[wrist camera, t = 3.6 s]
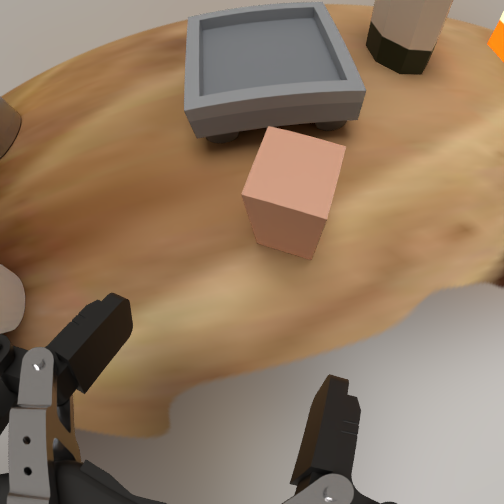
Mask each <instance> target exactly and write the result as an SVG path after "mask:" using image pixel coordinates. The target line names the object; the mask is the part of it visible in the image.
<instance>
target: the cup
mask: <svg viewBox="0 0 504 504" xmlns="http://www.w3.org/2000/svg"><path fill="white" fill-rule="evenodd" d="M24 310H25V292H24V287H23V284H22V282H21V280H20V278H19V277H18V276H17V275H16V274H14V273H13V272H11V271H10V270H8V269H7V268H6V267H4V266H3V265H1V264H0V334H1V333H5V332H9V331H12V330H14V329H15V328H16V327H17V326H18V325H19V324H20V322H21V320H22V317H23V314H24Z"/></svg>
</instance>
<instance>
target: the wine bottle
mask: <svg viewBox="0 0 504 504" xmlns="http://www.w3.org/2000/svg"><path fill="white" fill-rule="evenodd" d="M452 2H453V0H375V4H374V8H373V13H372V18H371V23H370V28H369V33H368V37H367V42H366V46H367V48H368V50H369V51H370V53H371V54H372V56H373V58H374V59H375V61H376V62H378V63H380V64H382V65H384V66H386V67H388V68H390V69H392V70H394V71H395V72H397V73H399V74H422V73H423V71H424V69H425V67H426V65H427V63H428V61H429V59H430V57H431V54H432V52H433V50H434V47H435V45H436V43H437V40H438V38H439V35H440V33H441V30H442V28H443V25H444V23H445V20H446V18H447V15H448V13H449V10H450V7H451V5H452Z"/></svg>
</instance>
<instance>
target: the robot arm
mask: <svg viewBox="0 0 504 504" xmlns="http://www.w3.org/2000/svg"><path fill="white" fill-rule="evenodd" d="M20 123H21V117H20V115H19V113H18V112H16V111H15V110H14V109H13V108H12V107H11V106H10V105H9V104H8V103H7V102H6V101H5V100H4V99H2V98H1V97H0V158H1V157H2V156H3V155H4V153H5V152H6V151H7V150H8V148H9V147H10V146H11V144H12V142H13V141H14V139H15V137H16V135H17V133H18V130H19V127H20ZM132 329H133V322H132V315H131V308H130V302H129V300H128V299H126V298H124V297H121V296H119V295H117V294H115V293H110V294H108V295H107V296H106V297H105V298H104V299H103V300H102V301H100V300H96V301H94V302H92V303H90V304H88V305H86V306H85V307H84V308H83V309H82V310H81V311H80V312H79V313H78V316H76V317H75V318H74V319H73V320H72V322H70V323H69V324H68V325H67V326H66V327H65V328H64V329H63V330H62V331H61V332H60V333H59V334H58V335H57V336H56V337H55V338H54V339H53V340H52V341H51V342H50V344H48V345H47V346H46V347H45V348H43V347H36V348H33V349H31V350H29V351H28V350H25V349H22V348H18V347H15V346H12V344H11V342H10V341H9V339H8V338H7V337H6V336H5V335H1V334H0V379H1V380H0V435H1V433H2V431H3V430H4V429H5V427H6V426H7V424H8V423H9V441H8V442H9V443H8V445H9V446H8V447H9V449H8V450H9V451H8V454H9V455H8V457H9V473H5V474H0V504H166V503H163V502H159V501H154V500H150V499H146V498H142V497H138V496H135V495H132V494H131V493H130V492H129V491H128V490H126V489H125V488H124V487H123V486H122V485H121V484H119V482H118V481H116V480H115V479H114V478H113V477H112V476H111V475H110V474H109V473H107V472H105V471H104V470H102V469H100V468H99V467H97V466H95V465H94V464H92V463H91V462H89V461H88V460H85V462H84V463H82V462H81V456H80V450H79V446H78V443H77V441H76V437H75V428H74V408H73V393H74V391H75V390H76V389H77V390H79V391H81V392H82V393H84V394H85V393H86V392H87V391H88V389H89V388H90V387H91V385H92V384H93V383H94V381H95V380H96V379H97V378H98V376H99V375H100V374H101V372H102V371H103V370H104V369H105V367H106V366H107V365H108V364H109V362H110V361H111V360H112V358H113V357H114V356H115V355H116V353H117V352H118V351H119V350H120V348H121V347H122V346H123V345H124V343H125V342H126V341H127V340H128V338H129V337H130V335H131V332H132ZM348 386H349V380H348V379H344V378H340V377H337V376H333V375H328V376H327V378H326V380H325V381H324V383H323V384H322V386H321V387H320V389H319V391H318V392H317V394H316V395H315V398H314V400H313V402H312V405H311V408H310V412H309V417H308V420H307V424H306V428H305V432H304V436H303V439H302V443H301V447H300V450H299V454H298V458H297V461H296V464H295V468H294V471H293V474H292V478H291V481H290V484H292V485H296V486H297V488H296V492H295V495H294V496H293V497H291V498H290V499H288V500H287V501H285V502H284V503H282V504H380V503H378V502H376V501H374V500H372V499H370V498H368V497H366V496H364V495H362V494H361V493H359V492H358V491H357V490H356V488H355V487H354V485H353V482H352V478H351V473H352V467H353V461H354V455H355V449H356V442H357V434H358V428H359V426H358V425H359V421H360V413H361V409H360V406H359V402H358V399H357V397H354V396H350V395H347V393H348ZM381 504H397V503H394V502H384V503H381Z"/></svg>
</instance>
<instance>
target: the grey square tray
mask: <svg viewBox="0 0 504 504" xmlns="http://www.w3.org/2000/svg"><path fill="white" fill-rule="evenodd" d="M365 93H366V89H365V86H364V84H363V82H362V79H361V77H360V75H359V73H358V70H357V68H356V66H355V64H354V62H353V59H352V57H351V55H350V53H349V51H348V49H347V47H346V45H345V43H344V41H343V39H342V37H341V35H340V33H339V31H338V29H337V27H336V25H335V23H334V22H333V20H332V18H331V16H330V14H329V12H328V11H327V9H326V7H325V5H324V4H323V2H297V3H280V4H268V5H258V6H249V7H242V8H235V9H228V10H222V11H216V12H211V13H206V14H201V15H196V16H192V17H188V27H187V44H186V64H185V93H184V112H185V114H186V116H187V118H188V120H189V122H190V125H191V127H192V129H193V131H194V133H195V135H196V138H202V137H206V138H207V139H208V140H209V141H211V142H214V143H227V142H230V141H232V140H234V139H235V138H237V136H238V134H239V131H245V130H252V129H259V128H267V127H268V126H270V127H275V126H284V125H294V124H304V123H315V124H316V126H317V128H319V129H321V130H325V131H330V130H336V129H338V128H340V127H342V126H343V125H345V123H346V122H347V120H358V117H359V114H360V110H361V107H362V103H363V100H364V97H365Z"/></svg>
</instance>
